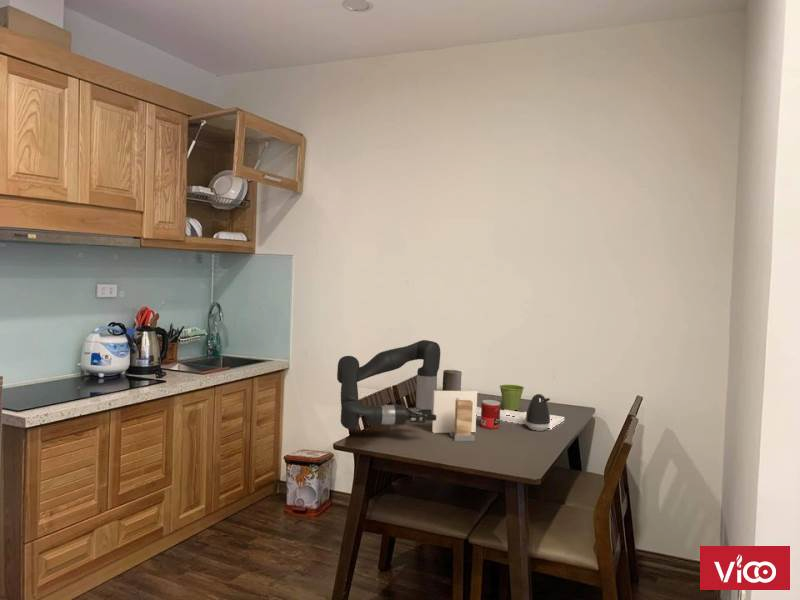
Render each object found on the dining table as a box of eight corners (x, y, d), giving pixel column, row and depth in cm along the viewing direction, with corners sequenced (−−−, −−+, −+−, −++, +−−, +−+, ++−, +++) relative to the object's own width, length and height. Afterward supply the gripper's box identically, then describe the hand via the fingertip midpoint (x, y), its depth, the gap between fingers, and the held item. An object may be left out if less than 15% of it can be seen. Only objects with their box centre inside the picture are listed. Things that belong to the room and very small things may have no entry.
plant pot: (496, 406, 305) (497, 384, 304) (521, 407, 304) (522, 385, 304) (499, 412, 293) (500, 388, 292) (524, 413, 292) (526, 389, 292)
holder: (457, 414, 288) (457, 408, 287) (474, 407, 303) (474, 402, 303) (551, 430, 264) (551, 424, 263) (564, 422, 279) (564, 417, 279)
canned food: (497, 430, 258) (498, 404, 258) (478, 428, 261) (480, 402, 260) (500, 426, 266) (502, 401, 265) (482, 424, 268) (483, 399, 268)
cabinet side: (431, 431, 252) (433, 390, 251) (474, 431, 255) (476, 390, 254) (439, 441, 238) (441, 397, 237) (484, 441, 241) (486, 398, 241)
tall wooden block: (453, 437, 245) (455, 400, 244) (468, 437, 246) (470, 400, 245) (456, 439, 241) (457, 401, 241) (470, 439, 242) (472, 402, 242)
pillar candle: (439, 397, 320) (441, 369, 319) (444, 394, 329) (446, 366, 328) (458, 400, 317) (459, 371, 316) (462, 396, 326) (463, 368, 325)
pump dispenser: (540, 434, 255) (542, 397, 255) (520, 428, 263) (521, 393, 262) (554, 430, 262) (556, 395, 261) (534, 425, 270) (536, 390, 269)
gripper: (396, 409, 231) (438, 409, 234) (390, 401, 245) (430, 401, 248) (395, 429, 231) (437, 429, 234) (389, 419, 245) (429, 419, 248)
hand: (433, 414), depth 241 cm, fingers open, 8 cm apart
